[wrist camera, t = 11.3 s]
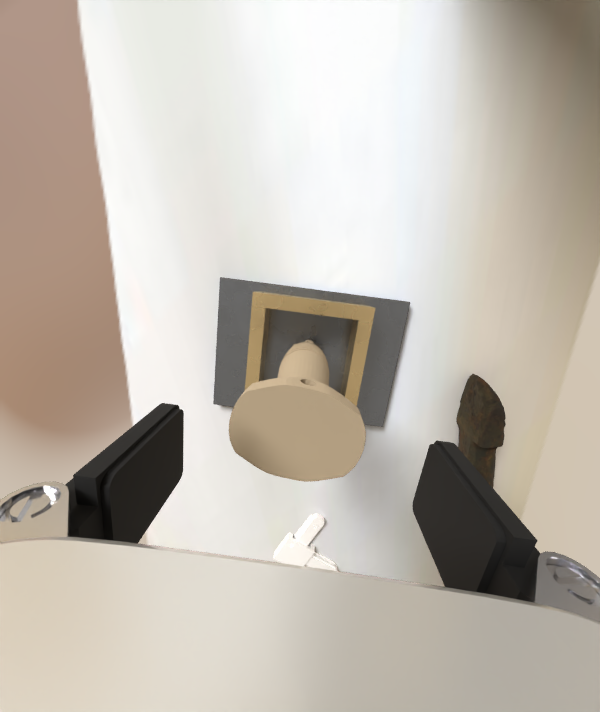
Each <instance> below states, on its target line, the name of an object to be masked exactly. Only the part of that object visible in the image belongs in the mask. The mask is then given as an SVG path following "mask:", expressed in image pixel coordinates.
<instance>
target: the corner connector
mask: <svg viewBox="0 0 600 712" xmlns="http://www.w3.org/2000/svg"><path fill="white" fill-rule="evenodd" d="M324 522H325V521H324V517H323V516H321V515H320V514H317V513H315V514H314V515H313V514H312V515H310V516H309V517H308V518H307V519H306V521H305V522H304V523H303V525H302V526H301V527H300V529H299V530H298V531H297V533H296V534H295V535H294V537H293V534H292V533H290V532H289V533H288V534H287V536H286V537H285V538H284V540H283V541H282V542H281V544H280V545H279V546H278V548H277V549H276V550H275V552H274V558H273V559H274V560H276V561H278V562H280V563H284V564H291V565H298V566H304V565H306V566H308V567H312V568H319V569H326V570H333V571H338V570H337V566H336V563H335V562H333V561H332V560H330V559H328V558H326V557H324V556H322V555H320V554H318V553H317V552H315V545H313V544H310V542H311V541H312V540H313V539H314V537H315V536H316V535H317V533H318V532H319V531H320V530H321V528H322V527H323V526H324ZM309 544H310V545H309ZM308 545H309V546H308Z"/></svg>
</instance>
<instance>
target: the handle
mask: <svg viewBox="0 0 600 712" xmlns="http://www.w3.org/2000/svg"><path fill="white" fill-rule="evenodd" d="M229 436H230V441H231V444H232V447H233V449H234V450H235V452H236V453H237V454H238V455H240V456H241V457H243V458H244V459H245V460H247V461H248V462H250V463H251V464H253V465H254V466H256V467H257V468H259V469H261V470H263V471H264V472H266V473H269V474H272V475H275V476H280V477H284V478H289V479H293V480H298V481H320V480H326V479H332V478H338V477H343V476H345V475H346V474H347V473H349V472H350V471H351V470H352V469H353V468H354V467H355V465H356V464H357V462H358V461H359V459H360V457H361V454H362V452H363V449H364V445H365V437H366V431H365V426H364V423H363V420H362V417H361V414H360V412H359V409H358V407H356V406H355V405H354V404H353V403H352V402H351V401H349V400H348V399H347V398H345V397H344V396H343V395H341V394H340V393H339V392H337V391H336V390H334V389H333V388H331V387H329V367H328V362H327V359H326V357H325V355H324V353H323V351H322V350H321V349H320V348H319V347H318V346H317V345H315V344H314V342H313V341H311V340H306V341H305V342H301V343H298V344H294V345H293V346H292V347H291V348H290V349H289V350H288V352H287V353H286V354H285V356H284V358H283V360H282V362H281V365H280V368H279V373H278V378H274V379H268V380H264V381H260V382H256V383H252V384H251V385H250V386H249V387H248V388H247V389H246V390H245V391H244V392H243V394H242V395H241V396H240V398H239V399H238V401H237V402H236V404H235V406H234V408H233V410H232V413H231V417H230V422H229Z"/></svg>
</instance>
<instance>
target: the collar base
mask: <svg viewBox="0 0 600 712" xmlns="http://www.w3.org/2000/svg"><path fill="white" fill-rule="evenodd" d="M409 306H410V302H406V301H398V300H390V299H383V298H375V297H367V296H360V295H352V294H344V293H337V292H329V291H322V290H314V289H306V288H299V287H291V286H283V285H276V284H268V283H260V282H253V281H245V280H237V279H230V278H222V277H220V290H219V309H218V328H217V347H216V366H215V385H214V404H217V405H224V406H232V407H234V406H235V404H236V402H237V401H238V399H239V398H240V396H241V395H242V394H243V392H244V391H245V390H246V389H247V388H248V387H249V386H250V385H251V384H252V383H256V382H260V381H264V380H268V379H274V378H278V373H279V368H280V365H281V362H282V360H283V358H284V356H285V354H286V353H287V352H288V350H289V349H290V348H291V347H292V346H293V345H294V344H298V343H301V342H305V341H306V340H311V341H313V342H314V344H315V345H317V346H318V347H319V348H320V349H321V350H322V351H323V353H324V355H325V357H326V359H327V362H328V367H329V387H331V388H333V389H334V390H336V391H337V392H339V393H340V394H341V395H343V396H344V397H345V398H347V399H348V400H349V401H351V402H352V403H353V404H354V405H355V406H356V407H358V409H359V412H360V414H361V417H362V420H363V423H364V424H366V425H373V426H381V427H383V422H384V418H385V413H386V409H387V404H388V400H389V395H390V391H391V386H392V382H393V378H394V373H395V369H396V364H397V360H398V355H399V351H400V346H401V342H402V337H403V333H404V328H405V324H406V319H407V315H408V310H409Z"/></svg>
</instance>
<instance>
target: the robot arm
mask: <svg viewBox="0 0 600 712" xmlns="http://www.w3.org/2000/svg"><path fill="white" fill-rule="evenodd" d="M183 415H184V414H183V410H181V409H179V406H178V405H173V404H165V403H162V404H160V405H159V406H157V407H156V408H155V409H154V410H152V411H151V412H150V413H149V414H148V415H146V416H145V417H144V418H143V419H141V420H140V421H139V422H138V423H137V424H135V425H134V426H133V427H132V428H131V429H129V430H128V431H127V432H126V433H124V434H123V435H122V436H121V437H119V438H118V439H117V440H116V441H115V442H113V443H112V444H111V445H110V446H108V447H107V448H106V449H105V450H103V451H102V452H101V453H100V454H99V455H97V456H96V457H95V458H94V459H92V460H91V461H90V462H89V463H88V464H86V465H85V466H84V467H83V468H81V469H80V470H79V471H78V472H76V474H74V475H73V477H74V478H73V479H72V480H70V482H68V483H67V484H66V485H64V484H62V483H59V482H43V483H37V484H33V485H29V486H27V487H23V488H21V489H19V490H17V491H14V492H12V493H10V494H9V495H7V496H5V497H4V498H2V499H1V500H0V712H600V578H599V577H598V576H597V575H595V574H594V573H593V572H591V571H590V570H589V569H587V568H586V567H585V566H583V565H581V564H580V563H578V562H576V561H575V560H573V559H571V558H568V557H566V556H564V555H561V554H558V553H555V552H543V553H541V554H540V553H539V551H538V550H537V549H536V548H535V547H534V546H535V544H536V542H537V540H536V539H535V537H534V536H533V535H532V534H531V532H530V531H529V530H528V529H527V528H526V527H525V525H524V524H523V523H522V522H521V521H520V520H519V518H518V517H517V516H516V515H515V514H514V513H513V511H512V510H511V509H510V508H509V507H508V506H507V504H506V503H505V502H504V501H503V500H502V499H501V497H500V496H499V495H498V494H497V493H496V492H495V490H494V489H493V488H492V487H491V486H490V485H489V483H488V482H487V481H486V480H485V479H484V477H483V476H482V475H481V474H480V473H479V472H478V470H477V469H476V468H475V467H474V466H473V465H472V463H471V462H470V461H469V460H468V459H467V458H466V456H465V455H464V454H463V453H462V452H461V451H460V449H459V448H458V447H457V446H456V445H455V444H454V443H450V442H443V441H436V442H435V443H434V444H431V445H430V446H429V449H428V452H427V456H426V459H425V462H424V466H423V469H422V473H421V476H420V480H419V483H418V486H417V490H416V493H415V497H414V500H413V512H414V515H415V517H416V519H417V522H418V524H419V526H420V529H421V531H422V534H423V536H424V538H425V541H426V543H427V545H428V548H429V550H430V552H431V555H432V557H433V559H434V562H435V564H436V566H437V569H438V571H439V573H440V576H441V578H442V580H443V583H444V585H445V587H441V586H434V585H427V584H421V583H414V582H407V581H401V580H394V579H387V578H381V577H374V576H367V575H361V574H354V573H347V572H340V571H333V570H326V569H319V568H312V567H306V566H298V565H291V564H284V563H277V562H270V561H263V560H256V559H249V558H242V557H235V556H227V555H220V554H213V553H205V552H198V551H191V550H183V549H176V548H169V547H161V546H154V545H145V544H138V542H139V540H140V539H141V538H142V536H143V534H144V533H145V532H146V530H147V529H148V527H149V526H150V524H151V523H152V521H153V520H154V518H155V517H156V515H157V514H158V512H159V511H160V509H161V508H162V506H163V505H164V503H165V502H166V500H167V499H168V497H169V496H170V494H171V493H172V491H173V490H174V488H175V487H176V485H177V484H178V482H179V480H180V479H181V476H182V472H183Z"/></svg>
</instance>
